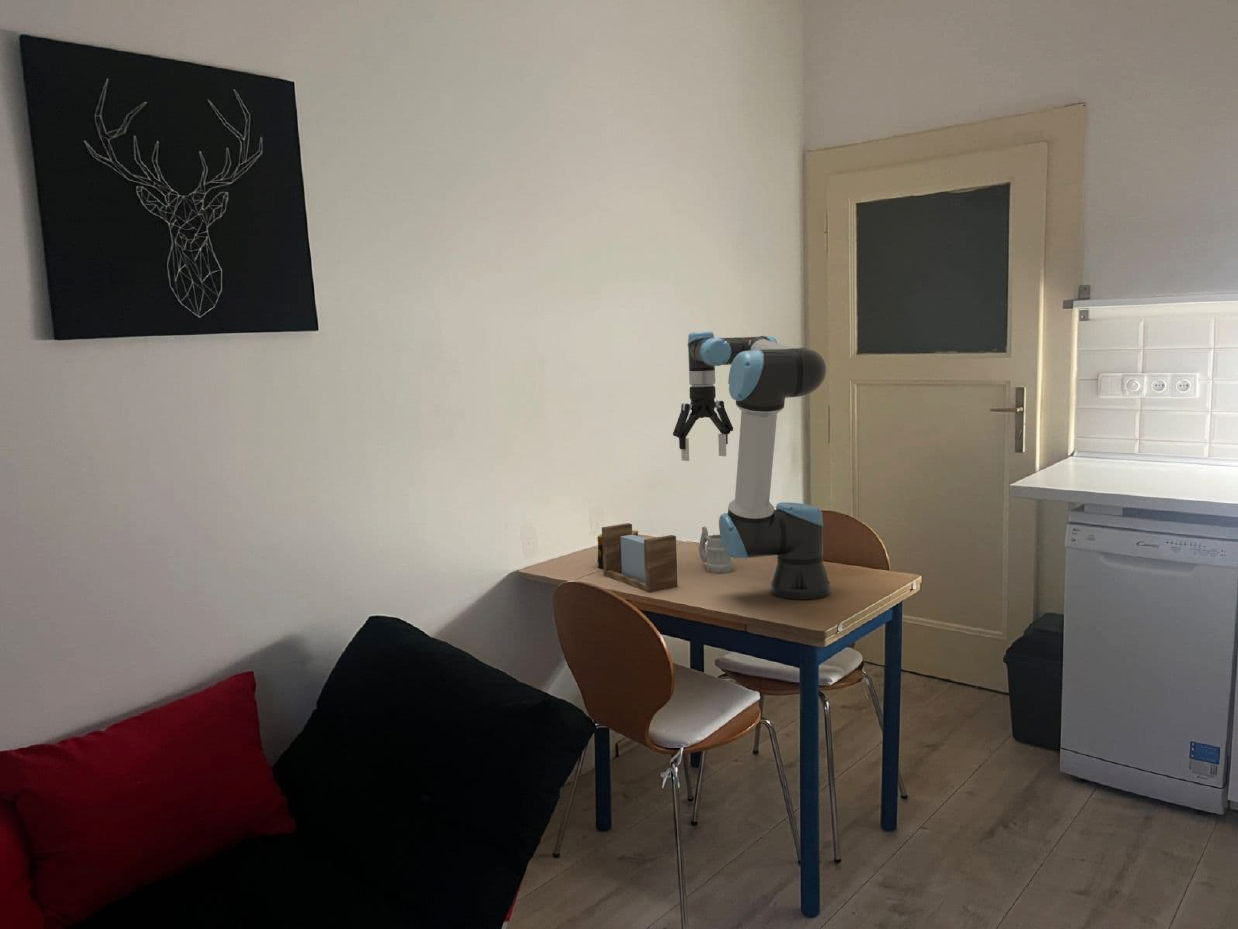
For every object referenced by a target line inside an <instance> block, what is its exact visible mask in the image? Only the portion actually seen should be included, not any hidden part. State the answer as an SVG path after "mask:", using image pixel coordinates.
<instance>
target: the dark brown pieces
mask: <svg viewBox="0 0 1238 929" xmlns="http://www.w3.org/2000/svg"><path fill="white" fill-rule="evenodd" d="M632 535H636V536H639V531H638V530H632ZM597 564H598V565H597V568H598V569H600V570H601V569H602V570H604V569H603V545H602V533H600V534H599V535H597Z"/></svg>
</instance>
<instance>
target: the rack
mask: <svg viewBox="0 0 1238 929" xmlns="http://www.w3.org/2000/svg"><path fill="white" fill-rule="evenodd" d="M632 531H633V523H621V524H615V525H609V526H608V525H607V526H602V527H601V534H602V545H603V569H602V570H603V576H604V577H605V576H606V577H607V578H611V579H613V580H616V581H619V582H621V583H624V584H626V585H630V586H631V587H634V588H638V589H640V590H643V591H645V592H649V593H653V592H659V591H663V590H669V589H672V588H678V587H679V586H678V565H677V564H678V563H677V562H678V561H677V558H678V557H677V556H678V555H677V535H674V534H673V535H672V534H668V535H662V536H658V537H652V538H651V537H650V538H646V539H645V540H644V554H645V582H646V583H645V582H642V581H639V580H637V579H634V578H631V577H628V576H626V575H623V574H622V561H621V536H627V535H632Z"/></svg>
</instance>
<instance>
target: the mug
mask: <svg viewBox="0 0 1238 929" xmlns="http://www.w3.org/2000/svg"><path fill="white" fill-rule="evenodd" d="M700 536H701V537H700V540H699V545H698V551H699V552H698V554H699V558H700V559H701V562H702V563H703V564H705V567H706V571H707V572H708V573H713V574H725V573H729V572H731V571H732V567H733V564H734V563H733V561H732V557H730V556H729V555H728V554H727V553H726V551H725V549H724V547H723V544H722V540H721V537H720V534H711V535H709V532H708V528H707V527H706V526H702V527H701V535H700ZM706 544H707V545H706Z"/></svg>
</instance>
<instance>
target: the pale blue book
mask: <svg viewBox="0 0 1238 929" xmlns="http://www.w3.org/2000/svg"><path fill="white" fill-rule="evenodd" d="M645 539H647V537H642V536H639V535H638V536H636V535H627V536H621V561H622V574H623V575H626V576H628V577H631V578H634V579H637V580H639V581H642V582H645V554H644V540H645ZM645 583H646V582H645Z"/></svg>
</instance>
